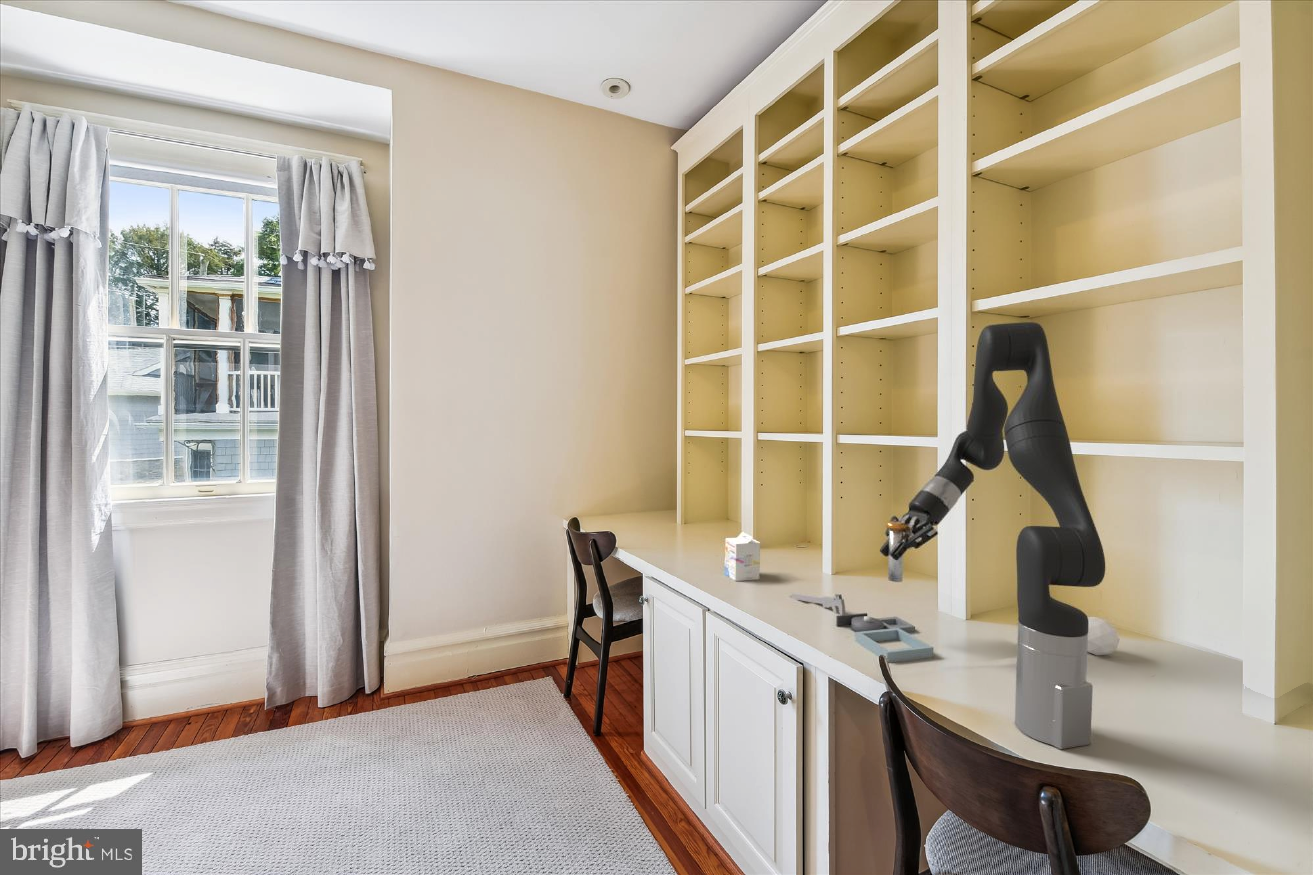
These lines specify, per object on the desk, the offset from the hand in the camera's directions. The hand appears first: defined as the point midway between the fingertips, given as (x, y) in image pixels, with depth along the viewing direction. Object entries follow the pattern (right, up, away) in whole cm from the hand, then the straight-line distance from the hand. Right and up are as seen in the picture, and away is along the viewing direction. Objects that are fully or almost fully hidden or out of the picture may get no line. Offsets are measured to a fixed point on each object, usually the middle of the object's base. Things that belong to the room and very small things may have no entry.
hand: (888, 555), depth 128 cm
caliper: (-10, -19, +22) cm, 31 cm away
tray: (-2, -20, -7) cm, 21 cm away
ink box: (-26, -17, +50) cm, 59 cm away
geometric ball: (+42, -20, -6) cm, 47 cm away
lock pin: (+2, -6, +1) cm, 6 cm away
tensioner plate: (0, -19, +5) cm, 20 cm away
